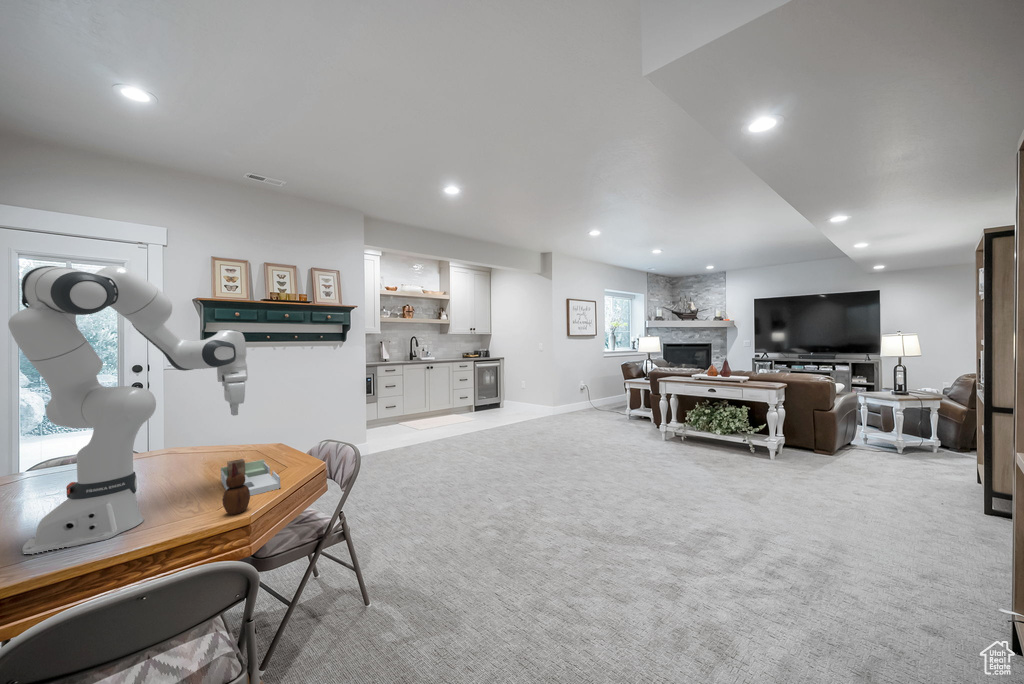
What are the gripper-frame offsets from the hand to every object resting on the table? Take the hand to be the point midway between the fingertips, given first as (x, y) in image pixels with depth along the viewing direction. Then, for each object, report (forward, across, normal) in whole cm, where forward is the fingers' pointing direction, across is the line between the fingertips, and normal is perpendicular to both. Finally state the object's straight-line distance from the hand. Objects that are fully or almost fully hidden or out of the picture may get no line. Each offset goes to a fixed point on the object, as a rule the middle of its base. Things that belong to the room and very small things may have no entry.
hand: (234, 415), depth 146 cm
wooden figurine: (+25, +29, -4) cm, 39 cm away
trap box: (+25, +2, +3) cm, 25 cm away
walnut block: (+23, -8, +1) cm, 25 cm away
